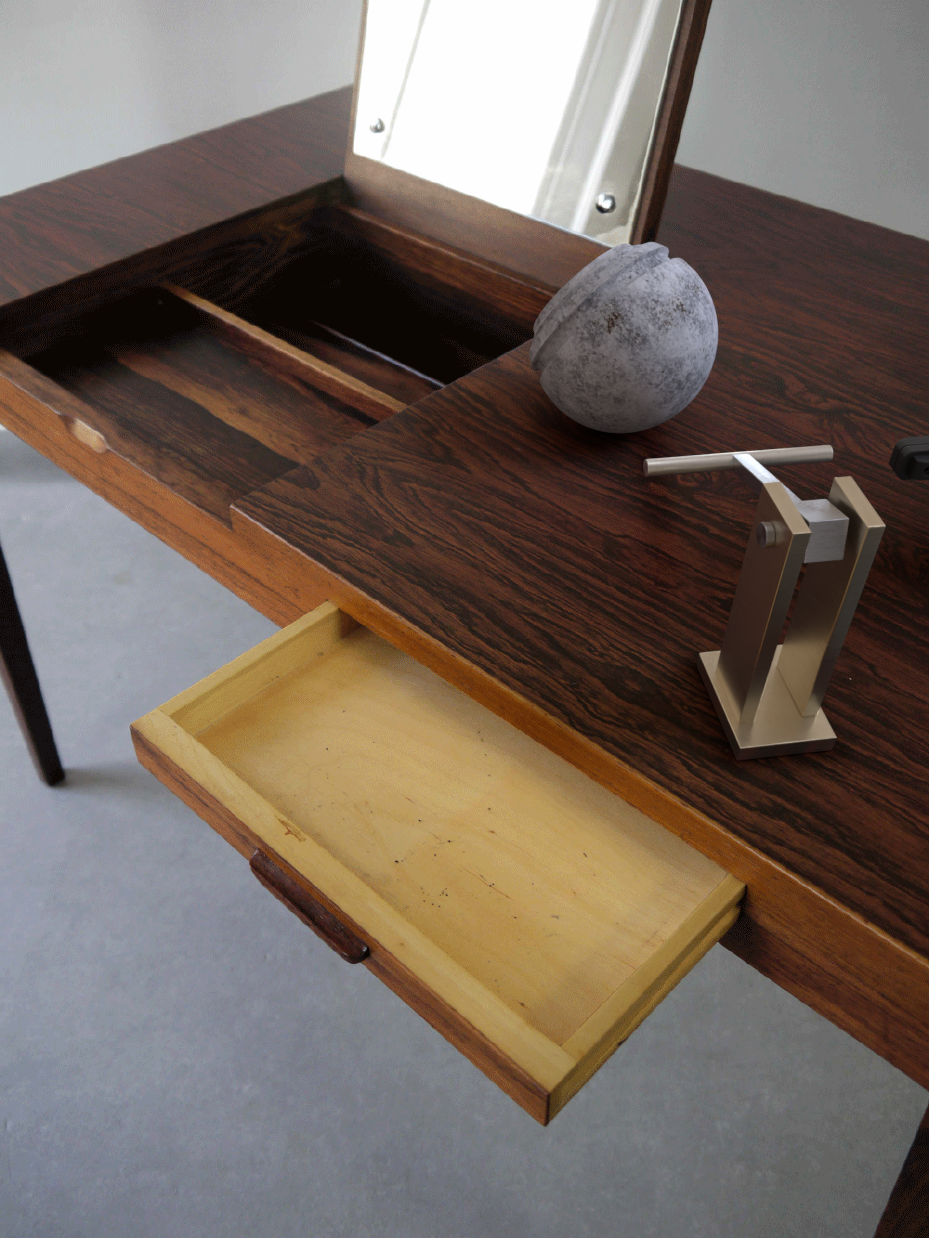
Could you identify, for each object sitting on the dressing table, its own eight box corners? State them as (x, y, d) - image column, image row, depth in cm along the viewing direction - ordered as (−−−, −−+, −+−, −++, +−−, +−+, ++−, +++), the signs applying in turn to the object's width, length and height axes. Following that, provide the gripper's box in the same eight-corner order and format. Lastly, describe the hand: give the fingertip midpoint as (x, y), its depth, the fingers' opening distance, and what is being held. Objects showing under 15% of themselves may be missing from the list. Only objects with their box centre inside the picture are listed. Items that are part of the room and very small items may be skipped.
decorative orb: (599, 357, 97) (617, 193, 87) (734, 416, 90) (772, 246, 80) (492, 421, 89) (498, 249, 79) (632, 492, 82) (659, 314, 72)
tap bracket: (695, 665, 68) (742, 463, 57) (783, 656, 69) (846, 455, 58) (736, 761, 63) (797, 557, 52) (832, 750, 63) (912, 547, 52)
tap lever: (641, 483, 66) (643, 446, 65) (823, 468, 67) (828, 432, 66) (714, 572, 55) (718, 529, 54) (930, 552, 56) (938, 510, 55)
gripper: (1110, 339, 72) (869, 356, 70) (1240, 450, 62) (966, 472, 60) (1066, 432, 77) (840, 450, 75) (1180, 547, 68) (925, 571, 66)
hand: (897, 460), depth 68 cm, fingers closed
